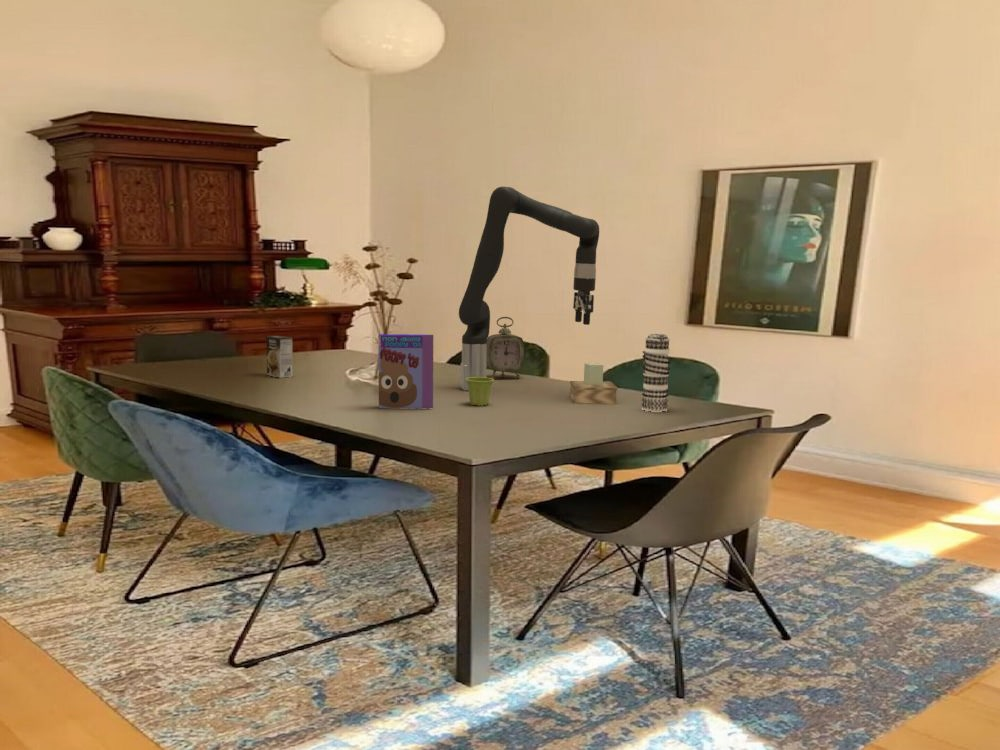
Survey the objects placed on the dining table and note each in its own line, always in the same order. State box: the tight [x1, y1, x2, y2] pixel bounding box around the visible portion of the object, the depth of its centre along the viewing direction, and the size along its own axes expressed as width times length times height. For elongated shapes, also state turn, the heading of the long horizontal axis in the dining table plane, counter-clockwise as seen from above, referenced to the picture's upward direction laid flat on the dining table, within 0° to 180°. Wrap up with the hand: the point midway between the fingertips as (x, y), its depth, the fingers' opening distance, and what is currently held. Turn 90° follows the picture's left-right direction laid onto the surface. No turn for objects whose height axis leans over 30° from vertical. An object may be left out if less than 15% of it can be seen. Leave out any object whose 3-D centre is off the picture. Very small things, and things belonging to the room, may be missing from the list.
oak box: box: [569, 380, 618, 405], centre depth 299 cm, size 14×14×6 cm
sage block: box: [583, 362, 604, 385], centre depth 298 cm, size 5×5×7 cm
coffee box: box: [265, 335, 294, 378], centre depth 340 cm, size 9×6×16 cm
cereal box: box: [378, 333, 434, 410], centre depth 277 cm, size 17×5×24 cm, turn 94°
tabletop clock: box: [487, 316, 526, 380], centre depth 345 cm, size 14×9×25 cm, turn 103°
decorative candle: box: [641, 333, 672, 413], centre depth 281 cm, size 9×9×25 cm
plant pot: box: [466, 376, 495, 407], centre depth 287 cm, size 9×9×9 cm
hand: (582, 323), depth 300 cm, fingers open, 8 cm apart
